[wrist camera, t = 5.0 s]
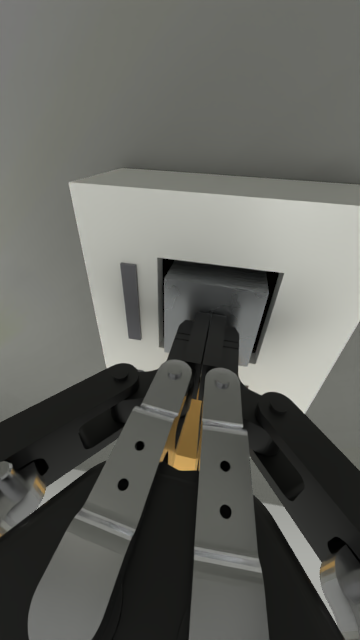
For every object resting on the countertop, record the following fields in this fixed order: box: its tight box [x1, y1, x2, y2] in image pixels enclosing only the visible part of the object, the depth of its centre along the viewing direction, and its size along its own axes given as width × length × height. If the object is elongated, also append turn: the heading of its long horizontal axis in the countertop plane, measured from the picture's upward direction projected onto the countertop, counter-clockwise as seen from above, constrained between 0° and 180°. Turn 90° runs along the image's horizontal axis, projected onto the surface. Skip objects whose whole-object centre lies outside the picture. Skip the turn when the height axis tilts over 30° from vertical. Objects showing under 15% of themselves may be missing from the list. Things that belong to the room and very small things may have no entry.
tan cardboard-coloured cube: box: [173, 389, 202, 471], centre depth 16 cm, size 5×5×4 cm
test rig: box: [68, 168, 360, 458], centre depth 18 cm, size 20×14×6 cm
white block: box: [164, 260, 269, 367], centre depth 15 cm, size 5×5×4 cm
